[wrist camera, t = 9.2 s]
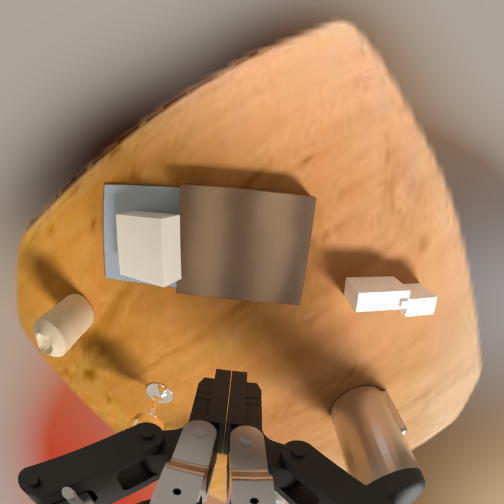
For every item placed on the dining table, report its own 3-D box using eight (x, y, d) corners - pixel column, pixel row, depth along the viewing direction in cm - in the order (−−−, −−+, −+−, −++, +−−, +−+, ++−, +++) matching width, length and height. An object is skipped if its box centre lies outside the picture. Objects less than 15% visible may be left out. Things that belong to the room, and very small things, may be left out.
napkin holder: (318, 292, 36) (328, 312, 30) (377, 223, 33) (398, 232, 28) (386, 346, 38) (401, 368, 33) (437, 289, 36) (458, 305, 30)
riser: (310, 195, 32) (316, 197, 29) (296, 294, 35) (299, 304, 32) (187, 183, 32) (180, 184, 29) (182, 283, 35) (176, 292, 32)
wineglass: (136, 381, 39) (109, 436, 28) (167, 377, 39) (145, 436, 27) (152, 407, 41) (132, 460, 29) (183, 403, 40) (167, 461, 29)
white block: (179, 214, 29) (160, 218, 27) (181, 278, 31) (163, 287, 28) (134, 211, 32) (115, 214, 29) (137, 267, 34) (120, 274, 31)
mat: (184, 187, 32) (183, 187, 31) (179, 286, 35) (179, 287, 34) (105, 184, 31) (104, 184, 31) (107, 276, 35) (105, 277, 34)
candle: (62, 290, 35) (22, 320, 26) (91, 295, 35) (53, 329, 26) (69, 323, 37) (34, 357, 27) (97, 329, 37) (64, 367, 27)
